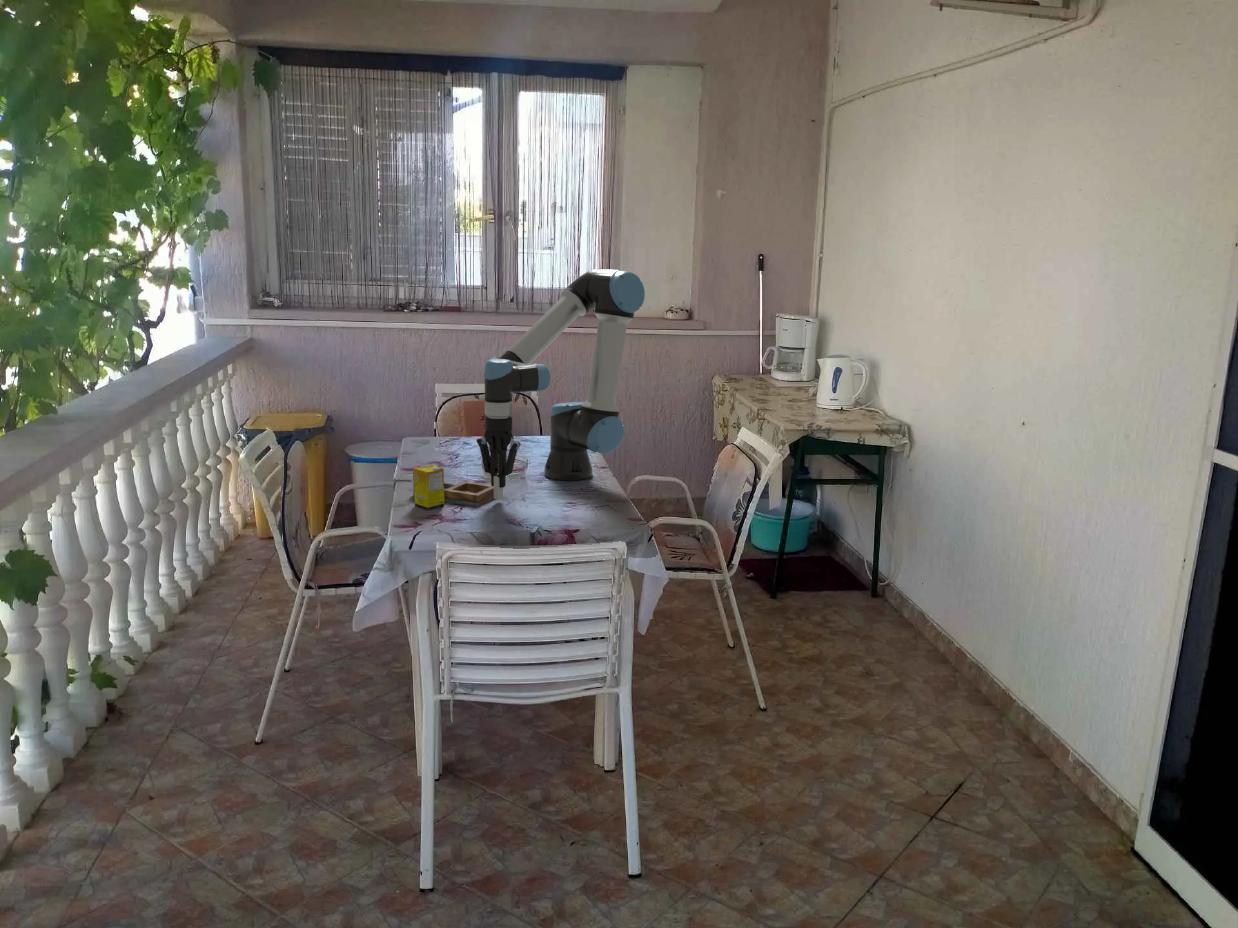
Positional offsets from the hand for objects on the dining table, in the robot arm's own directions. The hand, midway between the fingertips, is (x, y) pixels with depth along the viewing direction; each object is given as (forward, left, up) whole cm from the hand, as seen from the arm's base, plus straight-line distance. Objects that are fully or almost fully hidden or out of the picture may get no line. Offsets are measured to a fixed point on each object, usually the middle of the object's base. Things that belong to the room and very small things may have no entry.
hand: (498, 497), depth 262 cm
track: (+14, 0, -1) cm, 14 cm away
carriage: (+9, 0, -1) cm, 9 cm away
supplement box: (+15, +12, -2) cm, 19 cm away
